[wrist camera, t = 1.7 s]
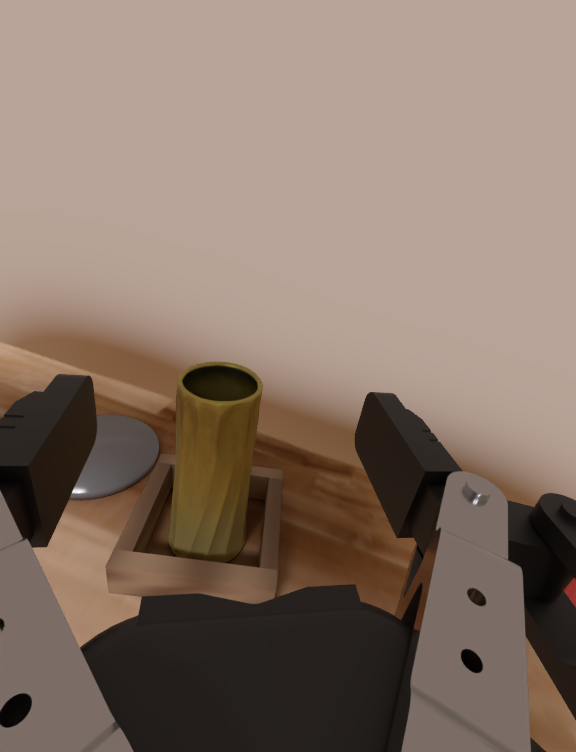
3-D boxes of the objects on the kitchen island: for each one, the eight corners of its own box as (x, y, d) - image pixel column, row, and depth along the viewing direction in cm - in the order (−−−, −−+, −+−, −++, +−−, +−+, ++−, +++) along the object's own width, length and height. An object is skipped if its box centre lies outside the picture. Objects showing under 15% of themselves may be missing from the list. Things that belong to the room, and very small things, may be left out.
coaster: (-4, 490, 30) (-6, 483, 30) (69, 414, 40) (69, 407, 40) (133, 508, 31) (133, 501, 31) (173, 429, 41) (173, 423, 40)
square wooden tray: (108, 592, 25) (105, 566, 24) (161, 476, 34) (161, 452, 33) (270, 612, 25) (276, 587, 24) (278, 492, 35) (283, 469, 34)
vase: (151, 534, 29) (148, 374, 22) (211, 492, 34) (223, 350, 27) (204, 586, 26) (219, 421, 19) (261, 534, 31) (289, 385, 24)
